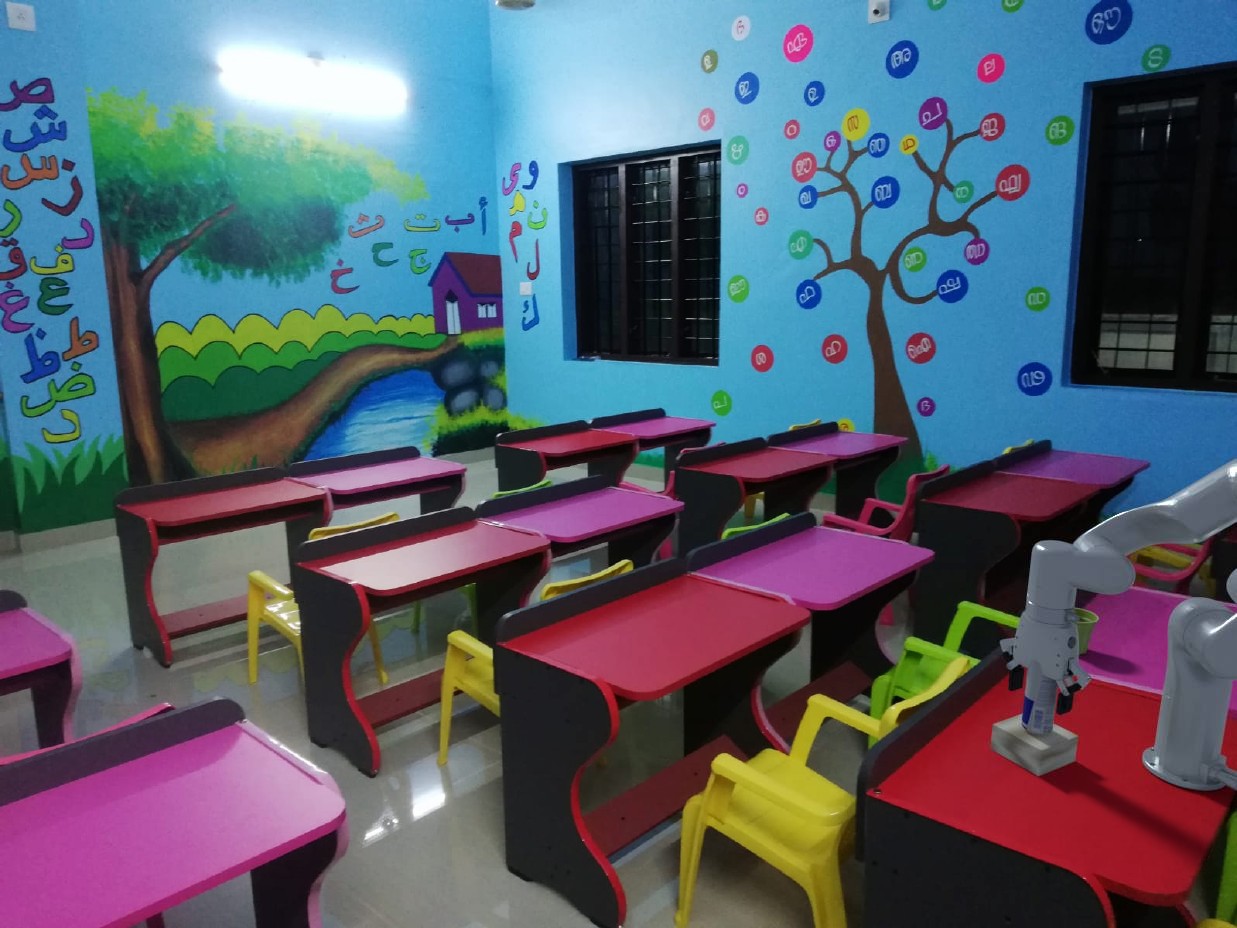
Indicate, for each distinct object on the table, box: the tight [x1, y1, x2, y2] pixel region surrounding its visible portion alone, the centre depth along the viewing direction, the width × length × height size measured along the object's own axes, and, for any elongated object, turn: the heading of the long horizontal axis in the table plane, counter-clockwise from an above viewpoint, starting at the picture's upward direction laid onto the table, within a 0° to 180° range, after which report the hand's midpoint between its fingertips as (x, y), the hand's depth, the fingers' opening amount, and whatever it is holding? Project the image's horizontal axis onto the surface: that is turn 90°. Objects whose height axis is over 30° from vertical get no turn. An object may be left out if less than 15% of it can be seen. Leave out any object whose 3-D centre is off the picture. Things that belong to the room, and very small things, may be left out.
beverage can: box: [1021, 657, 1059, 736], centre depth 156 cm, size 5×5×15 cm
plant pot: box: [1073, 607, 1100, 655], centre depth 201 cm, size 9×9×9 cm
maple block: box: [990, 713, 1079, 777], centre depth 158 cm, size 10×10×5 cm
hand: (1038, 700), depth 156 cm, fingers open, 9 cm apart
